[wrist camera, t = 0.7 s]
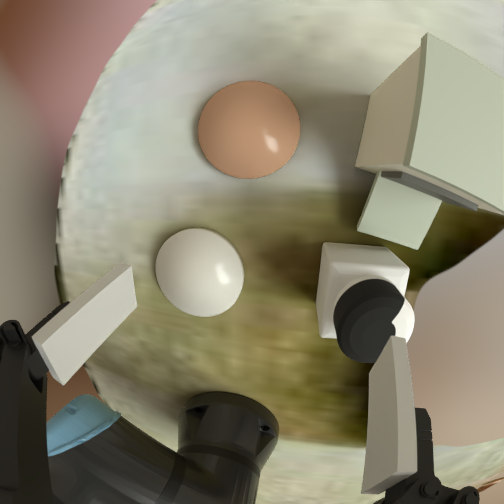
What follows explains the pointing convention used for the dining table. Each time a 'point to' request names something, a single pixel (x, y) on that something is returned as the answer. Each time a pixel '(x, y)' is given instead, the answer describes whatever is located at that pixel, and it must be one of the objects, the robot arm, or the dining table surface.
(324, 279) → the medicine bottle
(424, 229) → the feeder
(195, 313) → the white domed round part
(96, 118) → the dining table surface
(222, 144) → the peach round disc
